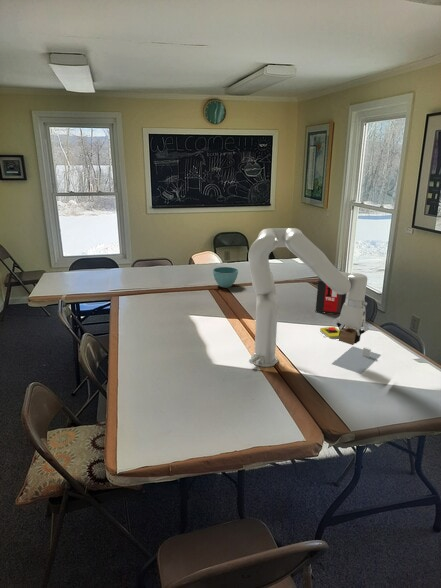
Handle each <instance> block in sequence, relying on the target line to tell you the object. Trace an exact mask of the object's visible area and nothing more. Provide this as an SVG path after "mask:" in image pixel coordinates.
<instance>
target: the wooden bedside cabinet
mask: <svg viewBox="0 0 441 588" xmlns="http://www.w3.org/2000/svg"><path fill="white" fill-rule="evenodd" d="M356 335H357V332H356V329H354V328H351V327H347V326H345V327H344V328H343V329H342V330H340V338H339V340H338V341H339V342H342V343H345V344H348V345H351V346H354V345H355V344H356V343H355V337H356Z"/></svg>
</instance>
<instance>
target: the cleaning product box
mask: <svg viewBox="0 0 441 588" xmlns="http://www.w3.org/2000/svg"><path fill="white" fill-rule="evenodd" d="M316 293H317V294H316V302H315V312H316V311H317V312H316V313H320V312H325V313H324V314H328V313H333V314H332V315H336V314H341V310H342V307H343V304H344V303H345V302H346V295H347V293H346V294H337V293H336V292H334V291H333V290H332V289H331V288H330V287H329V286H328V285H326V284H325V283H324V282H323V281H322V280H321V279H320V278H319V277H318V279H317V292H316Z"/></svg>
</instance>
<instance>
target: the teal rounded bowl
mask: <svg viewBox="0 0 441 588" xmlns="http://www.w3.org/2000/svg"><path fill="white" fill-rule="evenodd" d="M212 273H213V274H212V275H213V277H214V280H215V282H216V283H217V285H218V286H219V287H220V288H225V289H227V288H231V287H232V286H233V285H234V283H235V282H236V280H237V278H238V274H239V270H238V269H237V268H235V267H230V266H221V267H219V266H218V267H215V268H213V269H212Z"/></svg>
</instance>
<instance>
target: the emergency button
mask: <svg viewBox="0 0 441 588" xmlns="http://www.w3.org/2000/svg"><path fill="white" fill-rule="evenodd" d="M319 331H320V332H321V333H322V334H324V335H325V336H326V337H325V338H328V339H333V340H336V339H339V337H340V336H339V331H340V330H339V328H337V327H336V326H329V327H327V326H326V327H320V329H319Z"/></svg>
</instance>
